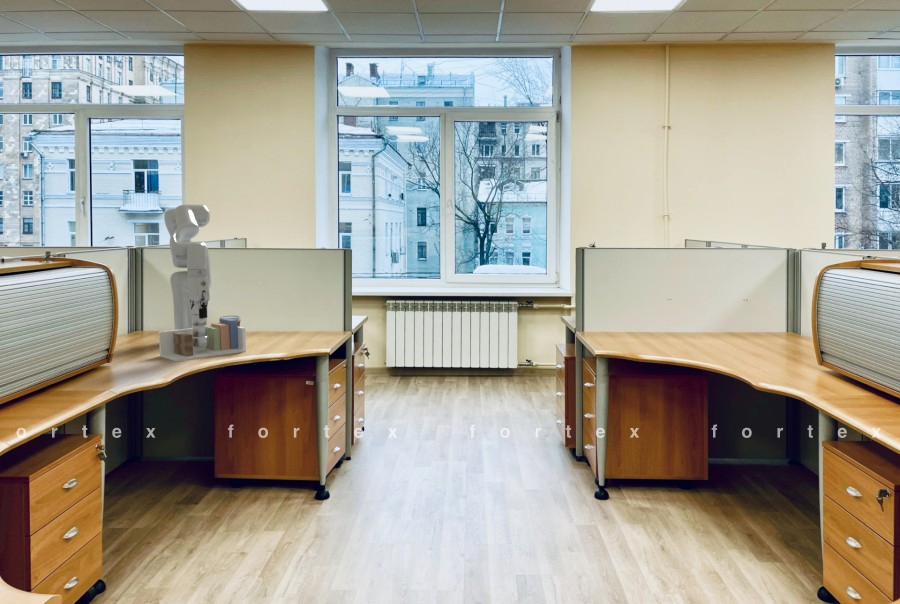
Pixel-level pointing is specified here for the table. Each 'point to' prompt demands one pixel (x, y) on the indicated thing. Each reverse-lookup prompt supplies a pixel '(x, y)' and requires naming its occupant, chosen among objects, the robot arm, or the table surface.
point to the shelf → (196, 351)
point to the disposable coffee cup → (233, 318)
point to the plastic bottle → (199, 327)
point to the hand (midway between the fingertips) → (199, 316)
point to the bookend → (183, 343)
